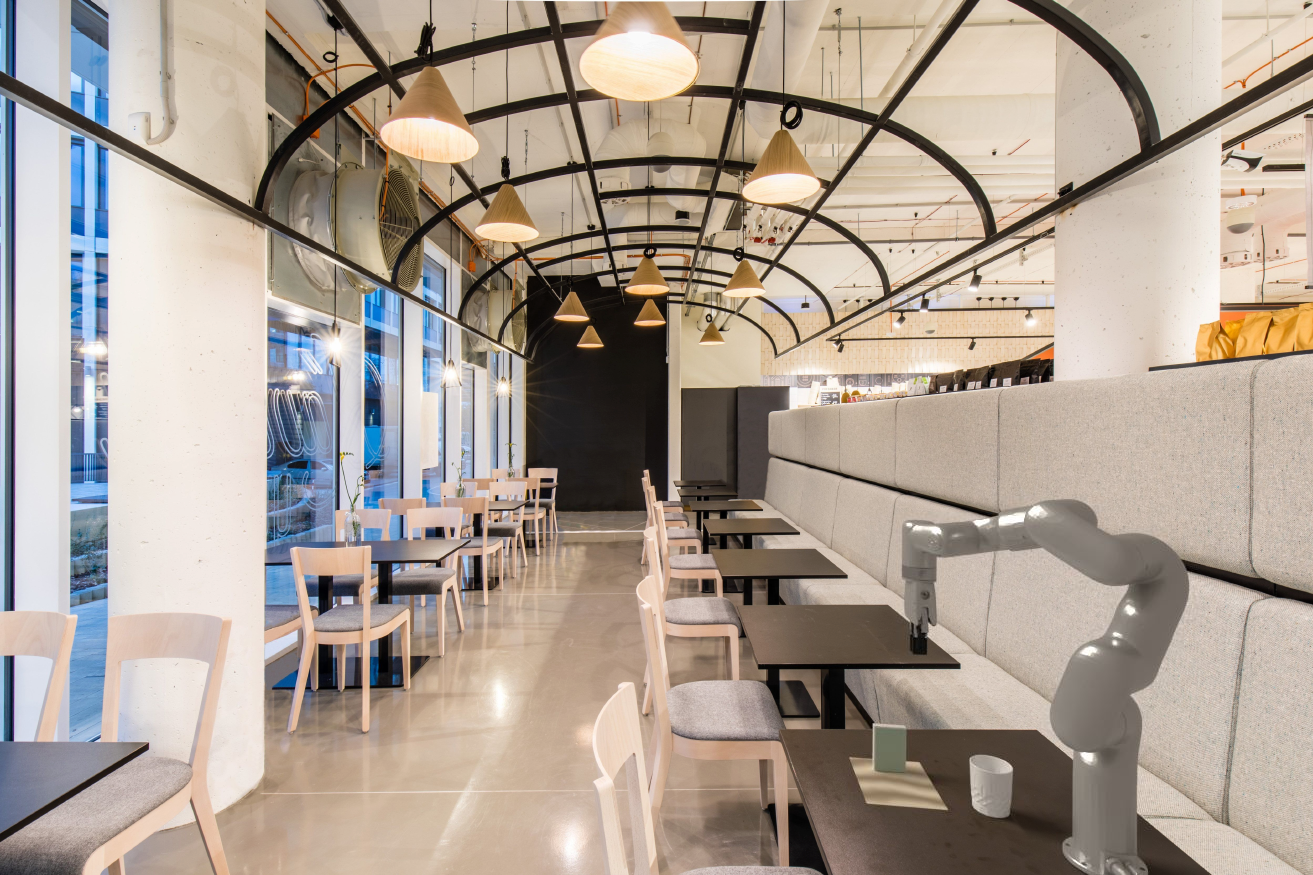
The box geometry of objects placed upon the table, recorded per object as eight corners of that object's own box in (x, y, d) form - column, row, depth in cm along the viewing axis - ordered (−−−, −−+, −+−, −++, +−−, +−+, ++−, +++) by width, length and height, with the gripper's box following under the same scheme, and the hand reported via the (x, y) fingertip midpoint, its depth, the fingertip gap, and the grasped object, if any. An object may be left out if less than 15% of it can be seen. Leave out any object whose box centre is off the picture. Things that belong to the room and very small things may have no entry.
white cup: (1018, 826, 126) (1018, 775, 126) (975, 821, 127) (975, 770, 127) (1005, 805, 133) (1005, 756, 134) (964, 800, 135) (965, 752, 135)
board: (947, 814, 129) (948, 809, 129) (866, 808, 131) (866, 803, 131) (919, 766, 149) (919, 762, 149) (849, 761, 151) (849, 757, 151)
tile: (906, 773, 144) (906, 728, 144) (874, 770, 145) (874, 726, 145) (904, 769, 146) (904, 725, 146) (872, 766, 147) (872, 723, 147)
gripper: (946, 580, 140) (946, 664, 140) (925, 568, 156) (925, 643, 155) (911, 579, 141) (910, 663, 141) (893, 566, 156) (893, 642, 156)
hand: (918, 652), depth 148 cm, fingers closed
